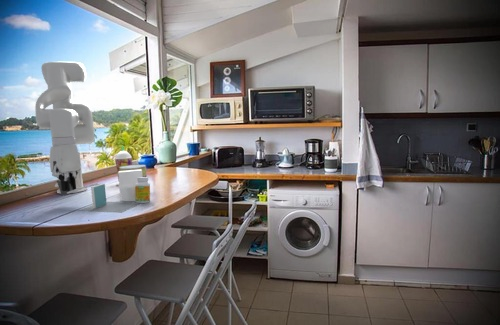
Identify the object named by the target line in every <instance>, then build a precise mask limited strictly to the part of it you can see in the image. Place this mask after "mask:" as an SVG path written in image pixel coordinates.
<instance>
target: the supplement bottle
mask: <svg viewBox="0 0 500 325" xmlns="http://www.w3.org/2000/svg"><path fill="white" fill-rule="evenodd" d="M137 180H138V183H136V185H135V200H134V201H135V202H134V203H142V204H147V203H149V202H150V201H151V183H150V182H149V177H148V176H147V177H138V178H137Z"/></svg>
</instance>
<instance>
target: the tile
mask: <svg viewBox="0 0 500 325" xmlns="http://www.w3.org/2000/svg"><path fill="white" fill-rule="evenodd" d="M90 189H91V191H90V192H91V200H92V205H93V208H98V207H101V206H103V205H106V204H107V202H108V201H107V194H106V185H105V183H100V184H97V185H94V186H91V187H90Z"/></svg>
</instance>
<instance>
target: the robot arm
mask: <svg viewBox="0 0 500 325" xmlns="http://www.w3.org/2000/svg"><path fill="white" fill-rule="evenodd" d="M41 74H42V76H43V79H44V82H45V83H46V86H47V89H46V90H45V91H43V92H42V93H41V94H40V95H39V96H38V97H37V99H36V100H35V107H34V108H35V109H34V110H35V122H36V124H37V126H38V128H41V129H42V130H50V134H51V135H50V136H51V143H52V144H51V146H50V150H49V169H50V172H51V175H52V177H54V178H57V179H58V180H59V181H61V187H62V191H70V186H69V180H67V177H70V178H71V182H72V185H73V188H74V190H76V189H79V188H82V187H85V186H86V185H85V186H84V183H83V182H84V181H83V173H82V171H83V170H82V163H81V162H82V161H81V153H80V151H79V150H78V147H77V145H88V144H89V145H90V144H92V143H95V127H94V126H95V125H94V119H93V117H94V116H93V112H92V107H91V105H90V104H89V103H88V102H86V101H74V98H73V96H74V95H73V92H72V91H73V90H72V83H85V81H86V79H87V72H86V67H85V66H84V64H83V63H81V62H77V61H58V60H57V61H45V62H44V63H43V64H41ZM51 105H52V108H48V107H49V106H51ZM47 108H48V109H47ZM54 188H58V189H57V190H56V192H57V194H60V195H61V192H60V189H59V186H58V183H57V182H56V183H54ZM87 190H88V188H85V189H82V190H79V191H75V192H72V193H71V194H75V193H76V194H77V193H81V192H85V191H87Z"/></svg>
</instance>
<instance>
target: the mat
mask: <svg viewBox="0 0 500 325" xmlns="http://www.w3.org/2000/svg"><path fill="white" fill-rule="evenodd" d="M106 202H107V204H106V205H103V206H101V207H98V208H93V204H92V205H90V206H87V207H84V208H82V209H79V210H77V211H78V212H95V213H96V212H97V213H98V212H99V213H121V214H122V213H124V212H126V211H128V210H130V209H132V208H135V207H137V206H139V205H142V204H143V203H136V202H132V201H123V202H122V201H106Z"/></svg>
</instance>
